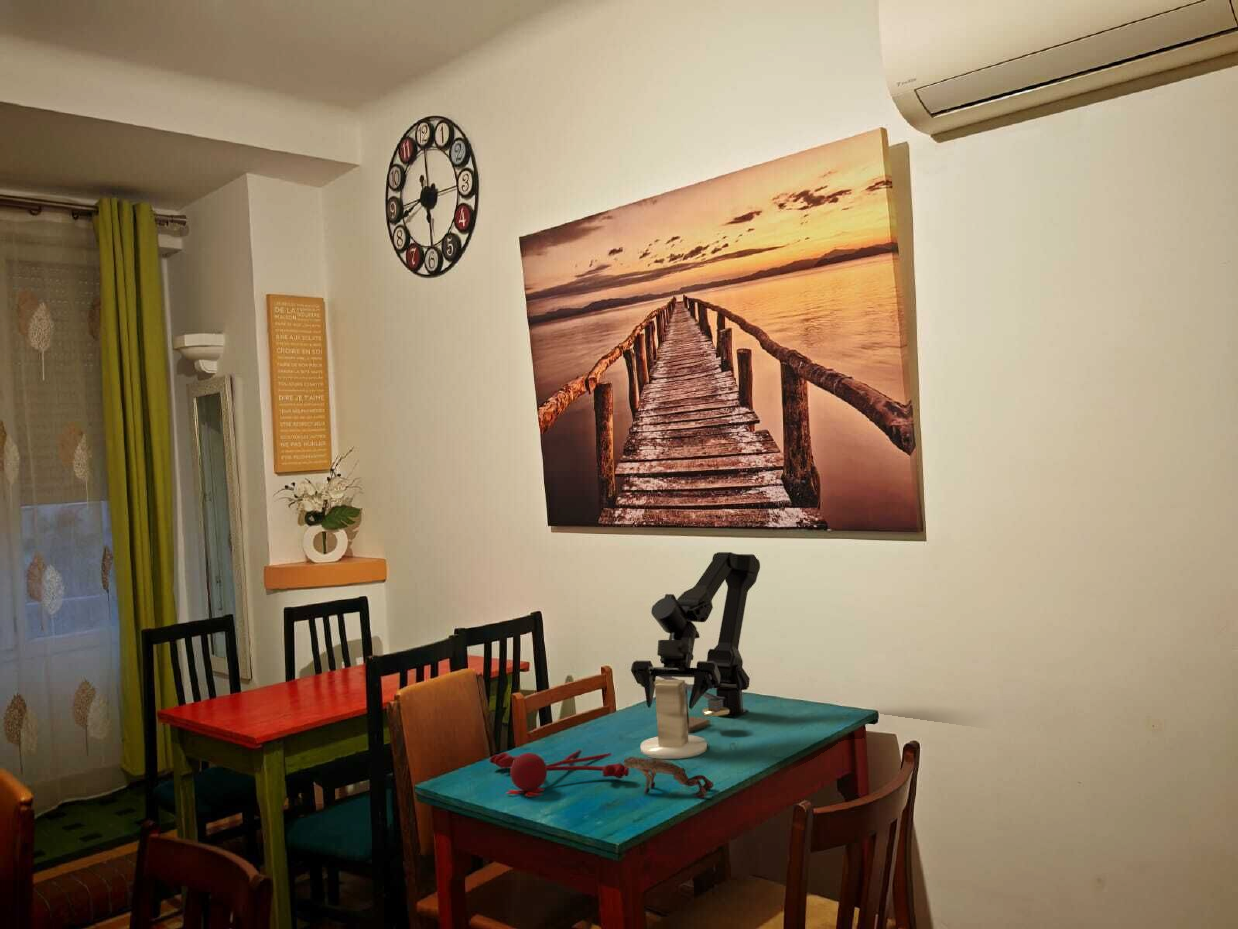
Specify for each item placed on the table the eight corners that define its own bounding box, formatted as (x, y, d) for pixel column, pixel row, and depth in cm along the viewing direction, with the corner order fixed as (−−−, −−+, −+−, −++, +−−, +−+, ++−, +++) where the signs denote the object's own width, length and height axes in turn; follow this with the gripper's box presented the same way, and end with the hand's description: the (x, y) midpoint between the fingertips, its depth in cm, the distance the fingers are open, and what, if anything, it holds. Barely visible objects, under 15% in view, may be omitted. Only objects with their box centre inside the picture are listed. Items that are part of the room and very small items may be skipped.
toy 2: (688, 818, 192) (624, 762, 196) (716, 782, 190) (651, 726, 194) (679, 829, 187) (613, 771, 191) (708, 792, 185) (641, 734, 189)
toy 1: (535, 764, 226) (452, 788, 199) (535, 729, 227) (453, 748, 200) (666, 779, 211) (595, 806, 185) (666, 742, 212) (596, 764, 185)
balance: (656, 716, 246) (652, 665, 246) (738, 728, 231) (734, 673, 231) (635, 724, 240) (632, 672, 240) (718, 737, 225) (714, 681, 225)
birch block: (666, 739, 221) (662, 679, 221) (688, 740, 219) (684, 680, 219) (658, 746, 216) (654, 684, 216) (681, 747, 214) (677, 685, 214)
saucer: (667, 737, 227) (667, 731, 227) (719, 745, 218) (719, 739, 218) (627, 753, 217) (627, 747, 217) (680, 762, 208) (680, 756, 208)
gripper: (630, 624, 224) (616, 685, 214) (713, 623, 218) (703, 687, 208) (644, 652, 232) (631, 713, 221) (724, 653, 225) (715, 716, 215)
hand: (669, 707), depth 216 cm, fingers open, 9 cm apart
